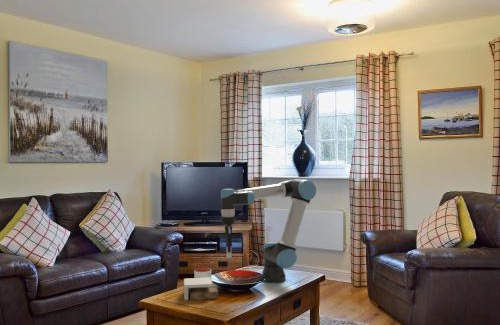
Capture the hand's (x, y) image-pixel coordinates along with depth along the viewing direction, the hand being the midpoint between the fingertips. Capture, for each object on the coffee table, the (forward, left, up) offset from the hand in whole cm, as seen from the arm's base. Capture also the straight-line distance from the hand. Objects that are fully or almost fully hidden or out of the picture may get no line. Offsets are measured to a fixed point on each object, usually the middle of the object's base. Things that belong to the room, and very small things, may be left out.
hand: (229, 257), depth 262 cm
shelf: (+18, +3, -20) cm, 27 cm away
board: (+15, +6, -20) cm, 26 cm away
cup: (+14, -14, -20) cm, 28 cm away
